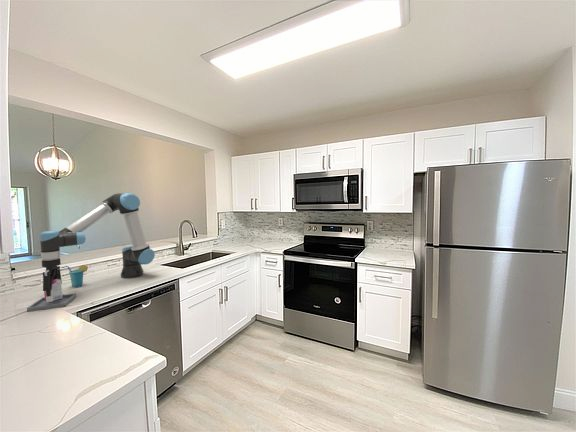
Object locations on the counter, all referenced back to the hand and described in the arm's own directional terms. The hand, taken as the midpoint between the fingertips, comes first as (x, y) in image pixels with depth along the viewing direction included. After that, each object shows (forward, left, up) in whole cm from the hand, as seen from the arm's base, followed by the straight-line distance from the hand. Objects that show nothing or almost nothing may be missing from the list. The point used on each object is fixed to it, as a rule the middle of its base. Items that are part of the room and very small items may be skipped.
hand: (53, 298), depth 137 cm
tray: (0, 0, -3) cm, 3 cm away
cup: (0, -31, -3) cm, 31 cm away
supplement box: (0, 0, -1) cm, 1 cm away
